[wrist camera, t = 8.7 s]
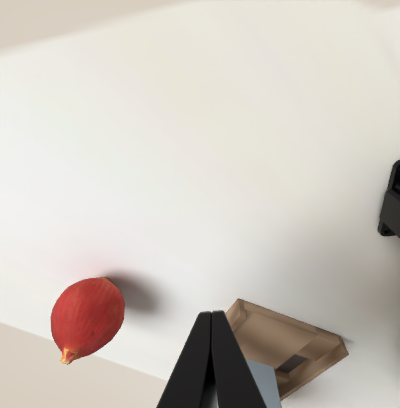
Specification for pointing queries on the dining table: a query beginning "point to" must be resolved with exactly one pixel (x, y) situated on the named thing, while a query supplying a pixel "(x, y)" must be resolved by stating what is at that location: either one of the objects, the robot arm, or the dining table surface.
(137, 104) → the dining table surface
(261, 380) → the blue block
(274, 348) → the box
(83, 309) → the onion
